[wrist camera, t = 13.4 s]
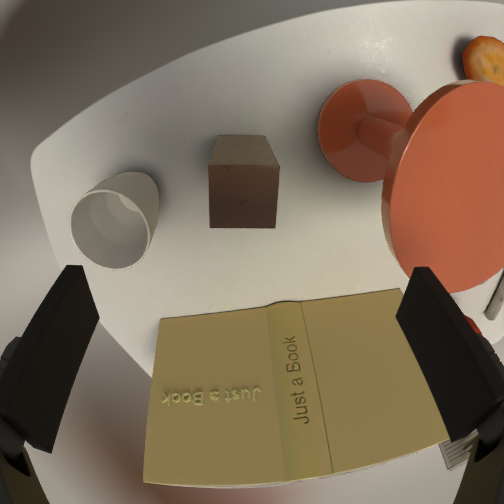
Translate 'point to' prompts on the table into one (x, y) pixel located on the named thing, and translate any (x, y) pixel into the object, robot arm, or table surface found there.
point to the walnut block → (243, 183)
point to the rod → (496, 302)
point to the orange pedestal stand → (427, 171)
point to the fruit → (484, 60)
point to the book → (286, 394)
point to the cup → (116, 220)
